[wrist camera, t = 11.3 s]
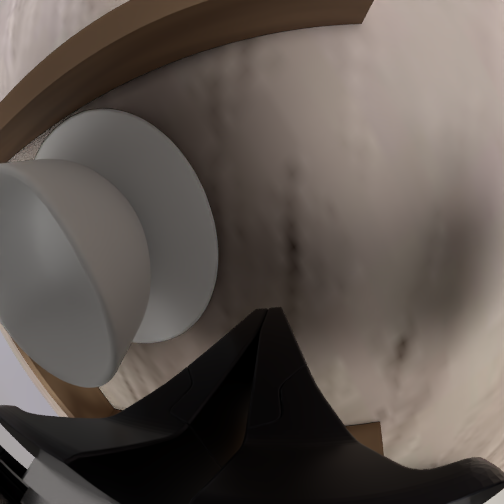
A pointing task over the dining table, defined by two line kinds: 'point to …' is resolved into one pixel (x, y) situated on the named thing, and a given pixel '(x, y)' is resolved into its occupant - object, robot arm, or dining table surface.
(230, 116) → the dining table surface
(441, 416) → the dining table surface
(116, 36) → the corral
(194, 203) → the teacup
